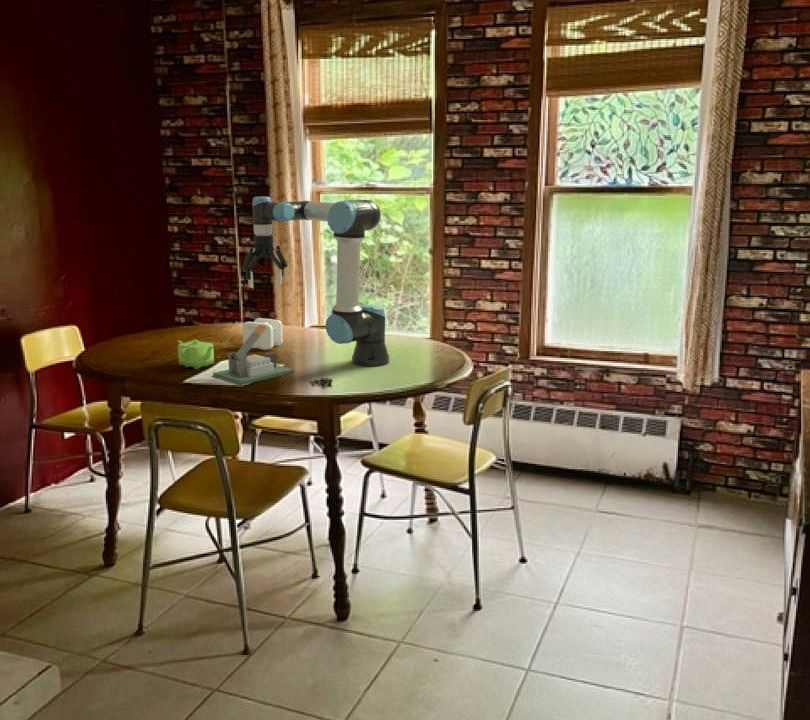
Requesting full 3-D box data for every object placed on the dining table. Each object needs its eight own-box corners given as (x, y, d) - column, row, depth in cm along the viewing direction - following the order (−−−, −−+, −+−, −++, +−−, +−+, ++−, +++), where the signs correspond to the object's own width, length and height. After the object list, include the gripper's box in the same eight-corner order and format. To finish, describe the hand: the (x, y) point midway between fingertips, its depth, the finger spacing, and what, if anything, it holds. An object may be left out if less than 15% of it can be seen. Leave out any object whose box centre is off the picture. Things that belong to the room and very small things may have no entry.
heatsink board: (293, 372, 302) (292, 349, 299) (241, 384, 284) (240, 360, 282) (264, 364, 313) (263, 342, 311) (213, 375, 296) (211, 352, 294)
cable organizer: (284, 346, 345) (283, 320, 342) (270, 351, 336) (269, 324, 333) (257, 343, 351) (256, 317, 348) (242, 347, 342) (241, 321, 339)
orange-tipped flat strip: (268, 328, 297) (265, 325, 296) (241, 362, 291) (238, 359, 290) (260, 327, 300) (257, 323, 299) (233, 360, 294) (230, 357, 293)
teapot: (215, 369, 305) (214, 343, 303) (180, 372, 301) (178, 345, 299) (212, 360, 319) (211, 335, 317) (178, 363, 315) (176, 337, 313)
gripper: (285, 232, 335) (287, 282, 340) (231, 235, 320) (234, 287, 325) (294, 233, 329) (296, 284, 334) (239, 237, 314) (242, 289, 319)
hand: (265, 285), depth 330 cm, fingers open, 13 cm apart
